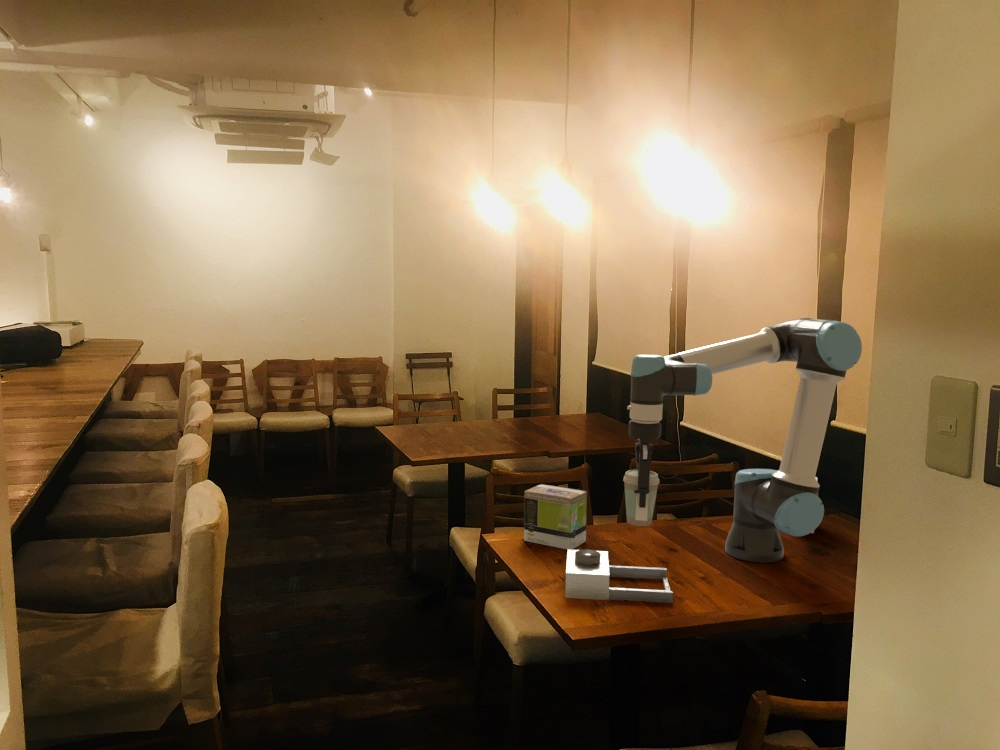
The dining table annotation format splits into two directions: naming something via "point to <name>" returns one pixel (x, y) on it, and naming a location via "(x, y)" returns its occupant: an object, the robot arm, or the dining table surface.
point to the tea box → (555, 516)
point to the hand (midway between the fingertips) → (640, 514)
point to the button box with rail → (592, 579)
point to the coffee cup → (630, 496)
